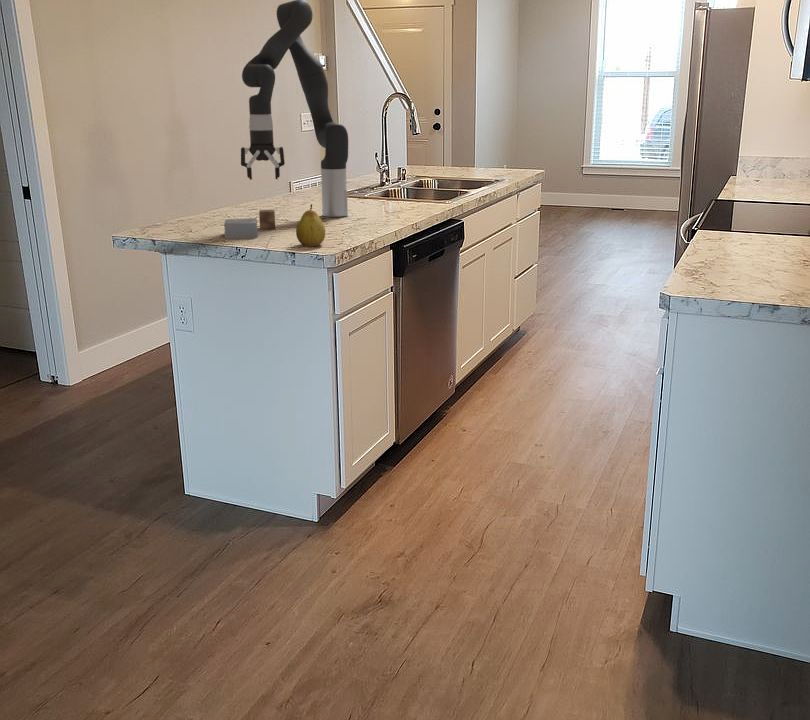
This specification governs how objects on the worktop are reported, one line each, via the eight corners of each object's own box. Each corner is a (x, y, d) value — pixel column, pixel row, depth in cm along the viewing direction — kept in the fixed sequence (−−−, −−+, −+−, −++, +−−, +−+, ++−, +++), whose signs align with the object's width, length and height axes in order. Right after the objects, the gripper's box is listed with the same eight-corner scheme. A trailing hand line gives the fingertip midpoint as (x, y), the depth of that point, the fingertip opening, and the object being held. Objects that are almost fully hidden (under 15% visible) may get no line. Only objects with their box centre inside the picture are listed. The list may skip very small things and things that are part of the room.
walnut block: (275, 227, 287) (274, 209, 285) (275, 229, 282) (274, 211, 280) (260, 227, 286) (259, 210, 284) (260, 230, 282) (259, 212, 280)
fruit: (310, 249, 248) (309, 208, 244) (290, 245, 254) (288, 205, 250) (332, 245, 254) (330, 205, 250) (311, 241, 260) (310, 202, 256)
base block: (257, 233, 276) (256, 218, 275) (257, 238, 267) (256, 222, 266) (226, 234, 275) (225, 219, 273) (225, 239, 266) (224, 223, 264)
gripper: (283, 128, 279) (285, 177, 284) (240, 128, 277) (242, 178, 282) (282, 129, 272) (284, 180, 277) (238, 129, 270) (241, 180, 275)
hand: (263, 179), depth 279 cm, fingers open, 8 cm apart
